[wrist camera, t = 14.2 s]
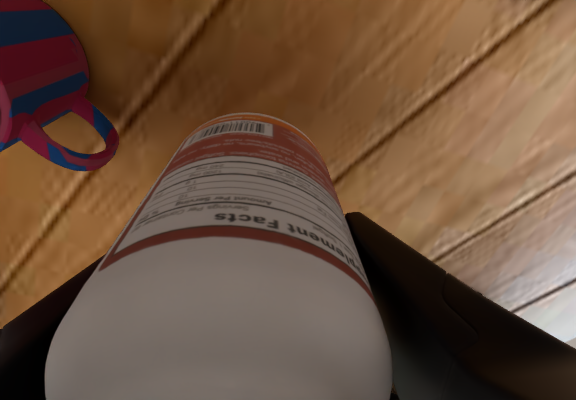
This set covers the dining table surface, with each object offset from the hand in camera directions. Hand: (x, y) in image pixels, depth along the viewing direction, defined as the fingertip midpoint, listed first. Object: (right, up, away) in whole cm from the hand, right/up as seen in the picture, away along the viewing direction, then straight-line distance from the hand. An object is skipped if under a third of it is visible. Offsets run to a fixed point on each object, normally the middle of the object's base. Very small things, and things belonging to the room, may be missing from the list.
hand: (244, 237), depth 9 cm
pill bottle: (0, +2, +3) cm, 4 cm away
